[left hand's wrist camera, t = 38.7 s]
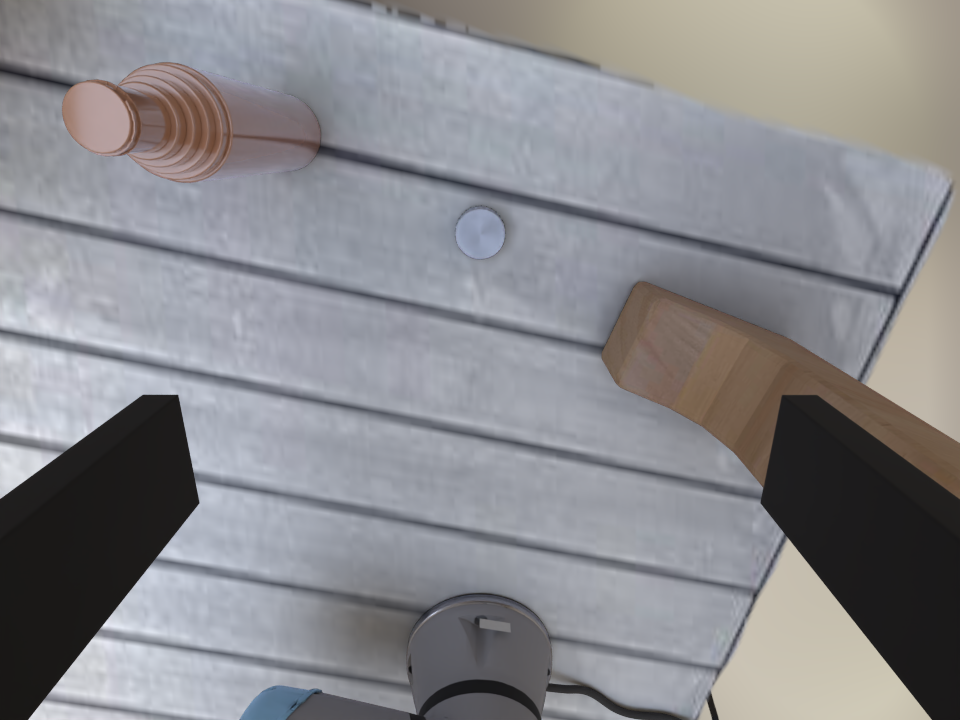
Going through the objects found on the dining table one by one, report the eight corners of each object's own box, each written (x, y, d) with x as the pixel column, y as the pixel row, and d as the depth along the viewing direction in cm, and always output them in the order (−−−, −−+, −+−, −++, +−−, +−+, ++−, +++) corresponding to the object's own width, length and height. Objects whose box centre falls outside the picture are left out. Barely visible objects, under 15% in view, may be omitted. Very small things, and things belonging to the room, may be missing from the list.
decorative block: (635, 277, 47) (862, 464, 19) (792, 339, 49) (1209, 593, 21) (596, 356, 50) (748, 627, 22) (748, 413, 52) (1068, 729, 24)
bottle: (268, 180, 45) (74, 210, 23) (235, 108, 43) (-7, 69, 22) (332, 156, 44) (193, 164, 23) (302, 82, 43) (120, 15, 21)
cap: (514, 233, 46) (516, 237, 44) (477, 265, 47) (477, 270, 45) (482, 194, 45) (482, 197, 43) (445, 228, 46) (444, 232, 44)
